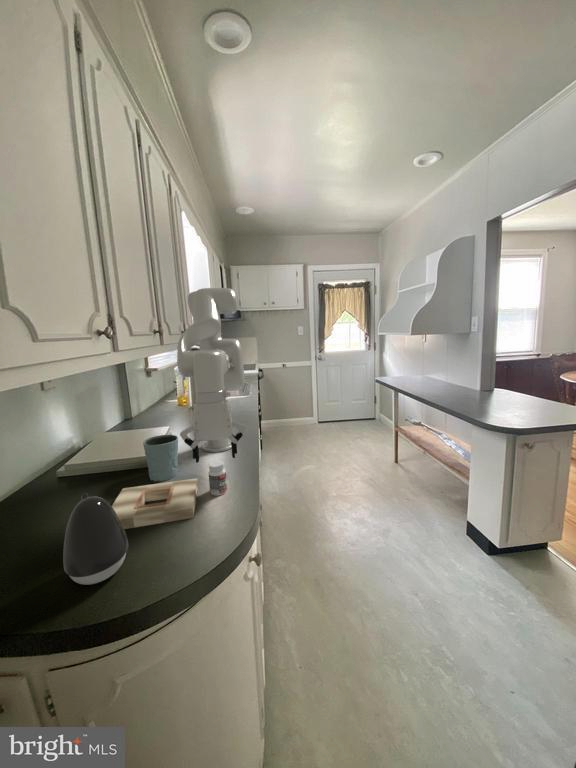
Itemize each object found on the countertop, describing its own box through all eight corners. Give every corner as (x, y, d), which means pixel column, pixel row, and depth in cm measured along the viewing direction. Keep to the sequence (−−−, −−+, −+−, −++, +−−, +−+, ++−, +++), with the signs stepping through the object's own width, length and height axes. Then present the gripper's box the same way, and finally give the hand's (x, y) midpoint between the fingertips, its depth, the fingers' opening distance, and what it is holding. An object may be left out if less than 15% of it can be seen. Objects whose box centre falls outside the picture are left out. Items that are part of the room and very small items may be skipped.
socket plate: (124, 496, 84) (122, 487, 84) (198, 486, 88) (197, 477, 88) (102, 532, 69) (101, 522, 68) (193, 517, 73) (192, 507, 72)
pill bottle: (223, 496, 82) (220, 468, 81) (207, 495, 83) (204, 467, 82) (229, 487, 87) (227, 460, 85) (214, 486, 87) (212, 459, 86)
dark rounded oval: (122, 545, 64) (112, 479, 62) (137, 571, 57) (127, 497, 54) (63, 572, 57) (50, 498, 55) (72, 606, 50) (57, 523, 47)
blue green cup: (140, 481, 93) (135, 444, 91) (161, 467, 103) (157, 433, 101) (169, 483, 90) (164, 446, 88) (187, 469, 100) (184, 434, 98)
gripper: (242, 392, 85) (246, 450, 88) (178, 397, 82) (184, 457, 84) (244, 397, 78) (248, 459, 81) (174, 402, 75) (181, 468, 77)
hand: (215, 458), depth 82 cm, fingers open, 9 cm apart
